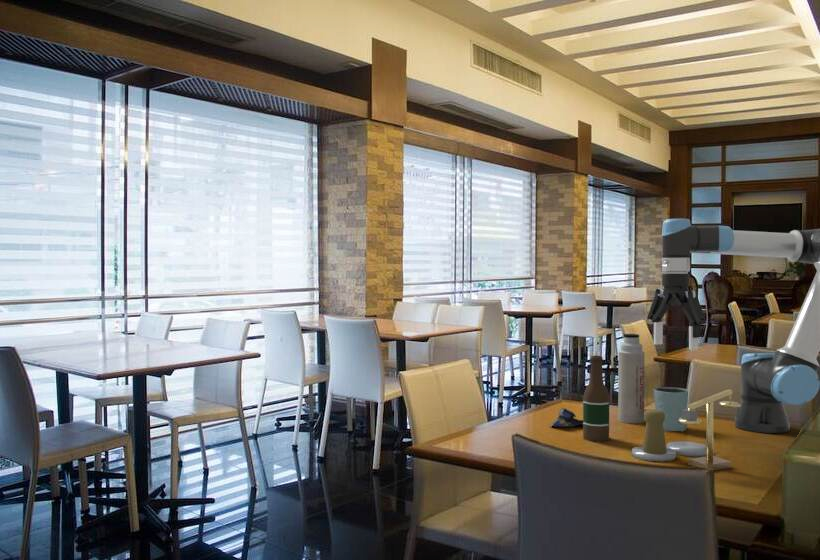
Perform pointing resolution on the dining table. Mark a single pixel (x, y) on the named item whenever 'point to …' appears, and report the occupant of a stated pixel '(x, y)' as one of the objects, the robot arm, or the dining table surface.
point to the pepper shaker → (654, 432)
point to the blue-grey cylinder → (671, 406)
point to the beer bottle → (596, 405)
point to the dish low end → (653, 455)
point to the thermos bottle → (631, 380)
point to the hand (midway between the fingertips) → (675, 346)
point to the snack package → (566, 419)
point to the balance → (708, 429)
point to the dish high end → (687, 448)
